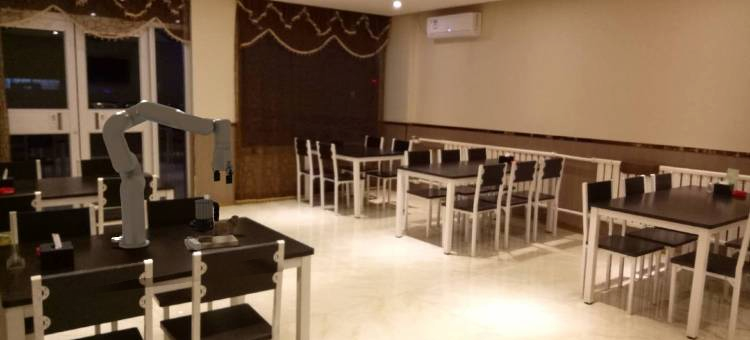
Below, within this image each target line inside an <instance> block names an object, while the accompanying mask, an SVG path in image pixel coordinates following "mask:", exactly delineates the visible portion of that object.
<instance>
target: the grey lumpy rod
mask: <svg viewBox="0 0 750 340" xmlns="http://www.w3.org/2000/svg"><path fill="white" fill-rule="evenodd" d="M186 239H187V244H188V245H189V246H191V247H192V248H193V250H195V251H197V250H202V249H201V243H200V242H198V241H197V240H195V239H194V237H193V236H187V237H186Z"/></svg>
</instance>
